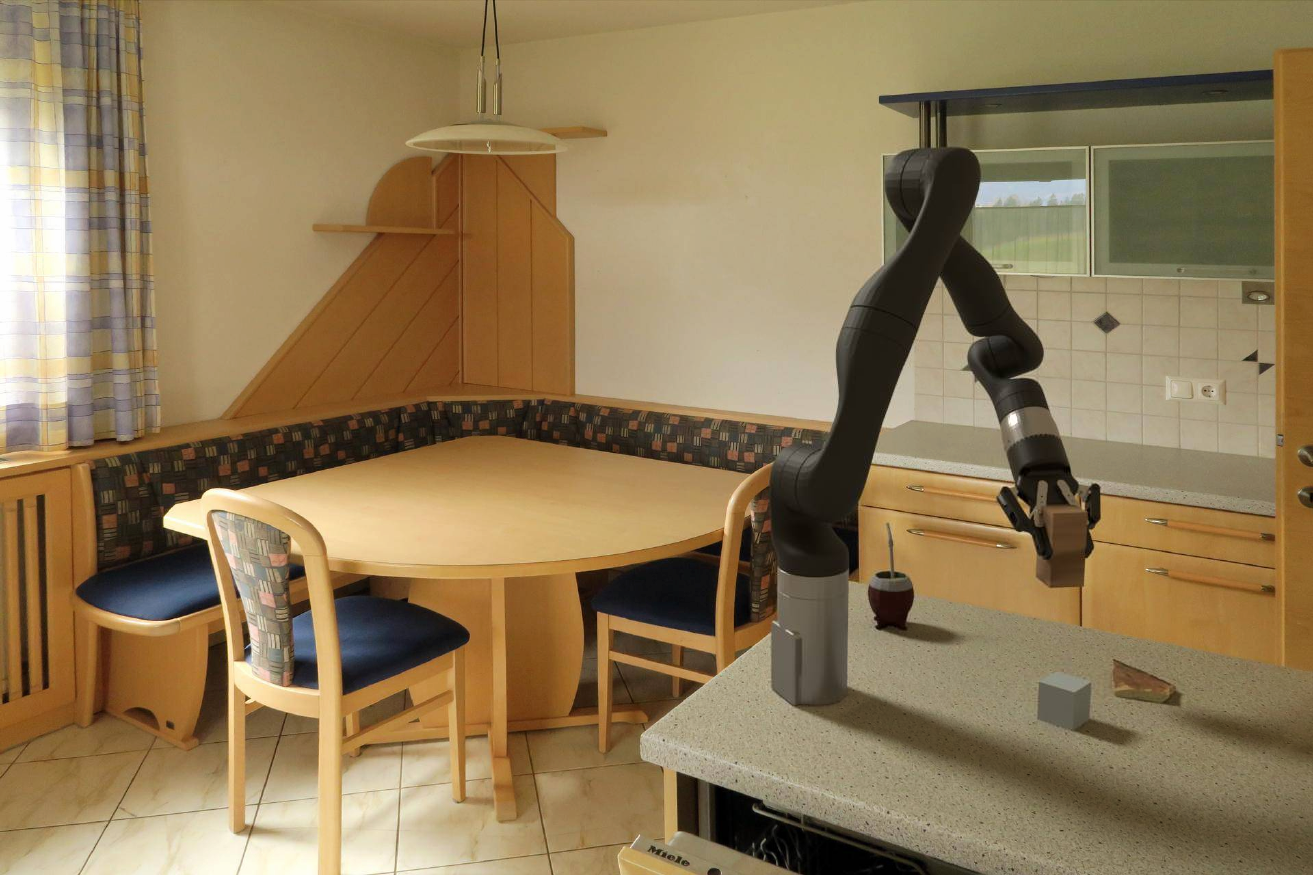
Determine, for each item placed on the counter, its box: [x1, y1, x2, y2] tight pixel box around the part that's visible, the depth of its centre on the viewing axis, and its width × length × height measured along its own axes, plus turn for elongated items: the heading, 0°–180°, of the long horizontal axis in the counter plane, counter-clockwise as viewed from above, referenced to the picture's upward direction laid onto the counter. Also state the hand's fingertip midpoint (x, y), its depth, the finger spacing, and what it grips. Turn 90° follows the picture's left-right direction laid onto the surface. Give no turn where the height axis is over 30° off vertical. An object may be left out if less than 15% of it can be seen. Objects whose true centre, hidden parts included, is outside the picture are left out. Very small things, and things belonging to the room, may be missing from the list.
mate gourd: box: [867, 522, 915, 632], centre depth 160 cm, size 8×8×15 cm
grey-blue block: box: [1036, 671, 1092, 731], centre depth 127 cm, size 4×4×5 cm
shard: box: [1111, 658, 1177, 704], centre depth 137 cm, size 11×8×2 cm
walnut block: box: [1035, 504, 1088, 589], centre depth 135 cm, size 4×4×10 cm
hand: (1067, 555), depth 133 cm, fingers closed on walnut block, 4 cm apart
